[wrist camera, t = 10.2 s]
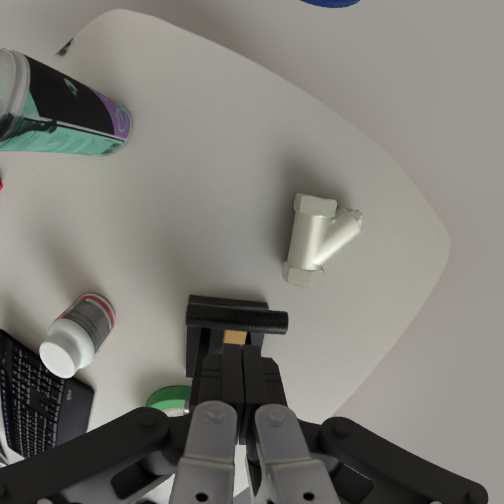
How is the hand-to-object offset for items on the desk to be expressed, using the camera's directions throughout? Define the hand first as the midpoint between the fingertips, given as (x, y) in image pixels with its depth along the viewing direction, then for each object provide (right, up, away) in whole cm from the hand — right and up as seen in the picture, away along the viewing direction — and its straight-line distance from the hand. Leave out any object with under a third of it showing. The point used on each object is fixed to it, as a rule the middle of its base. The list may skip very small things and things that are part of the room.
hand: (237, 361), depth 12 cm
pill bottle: (-17, -2, +18) cm, 25 cm away
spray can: (-14, +17, +13) cm, 25 cm away
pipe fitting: (+7, +6, +17) cm, 20 cm away
